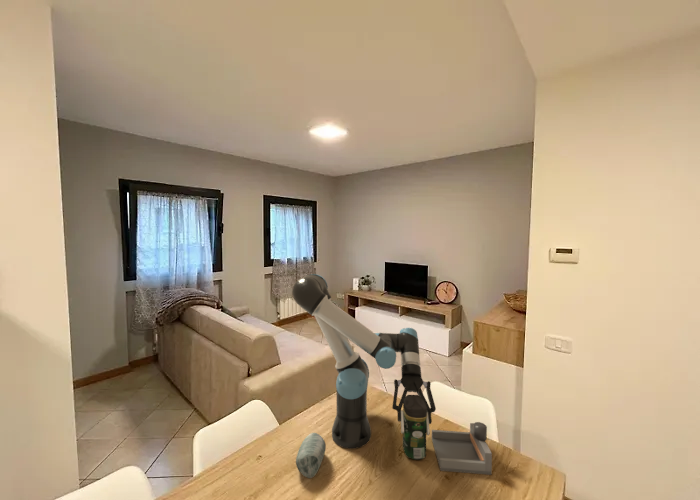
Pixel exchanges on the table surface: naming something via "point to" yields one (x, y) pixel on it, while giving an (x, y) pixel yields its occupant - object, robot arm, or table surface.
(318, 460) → the spool
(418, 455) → the coffee jar
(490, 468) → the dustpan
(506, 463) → the table surface
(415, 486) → the table surface
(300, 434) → the table surface
